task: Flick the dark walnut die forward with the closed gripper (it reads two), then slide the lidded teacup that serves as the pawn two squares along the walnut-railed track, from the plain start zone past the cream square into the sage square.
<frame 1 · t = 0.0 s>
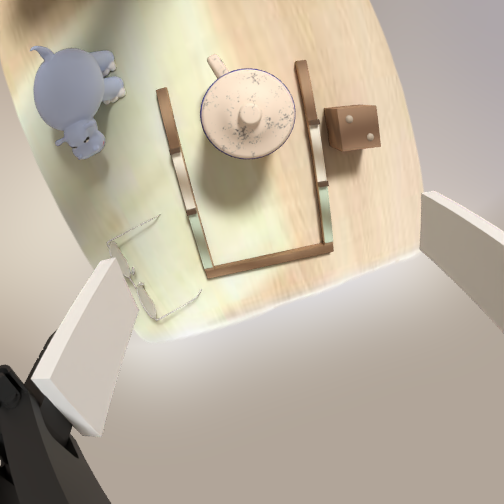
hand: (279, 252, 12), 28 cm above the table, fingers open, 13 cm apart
die: (344, 124, 37), on the table
sunglasses: (158, 261, 44), on the table
hippopotamus toy: (88, 99, 32), on the table
track: (251, 167, 38), on the table
teacup with lid: (237, 102, 35), on the table
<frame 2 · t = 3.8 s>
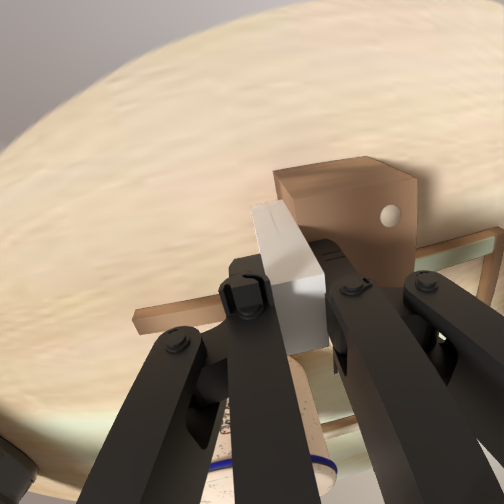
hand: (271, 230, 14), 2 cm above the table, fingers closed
die: (326, 208, 16), on the table, touching gripper
track: (341, 368, 22), on the table
teacup with lid: (232, 390, 22), on the table
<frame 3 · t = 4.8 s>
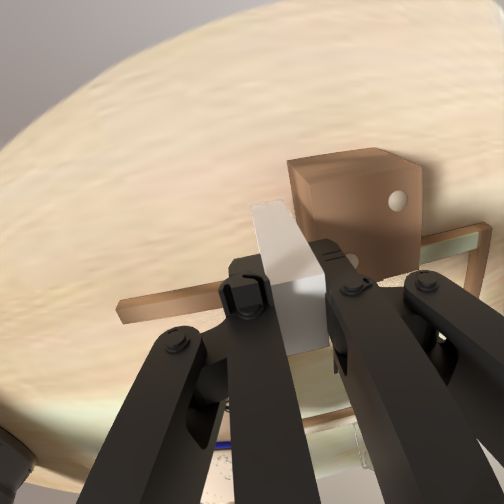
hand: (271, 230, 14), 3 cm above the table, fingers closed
die: (336, 196, 17), on the table
track: (322, 362, 23), on the table
teacup with lid: (215, 380, 23), on the table
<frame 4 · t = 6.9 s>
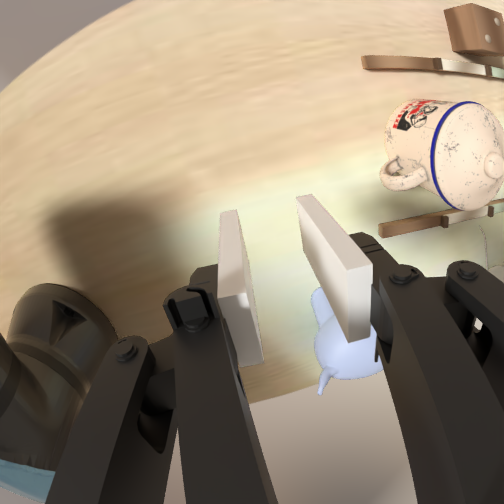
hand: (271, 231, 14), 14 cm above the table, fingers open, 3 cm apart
die: (463, 33, 21), on the table
hippopotamus toy: (357, 309, 36), on the table
track: (466, 141, 27), on the table
teacup with lid: (407, 145, 27), on the table
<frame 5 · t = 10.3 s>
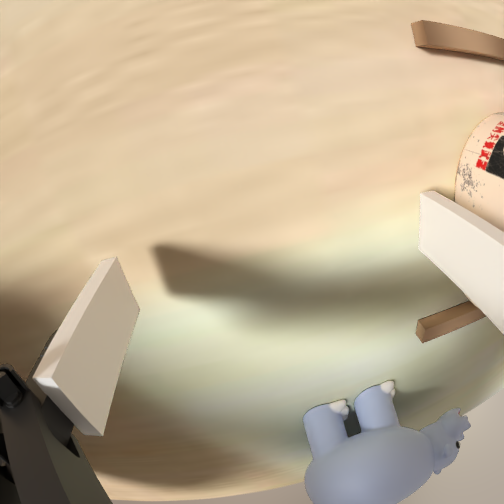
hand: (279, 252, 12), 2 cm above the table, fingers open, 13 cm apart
hippopotamus toy: (368, 417, 23), on the table
teacup with lid: (483, 191, 14), on the table, touching gripper, hand
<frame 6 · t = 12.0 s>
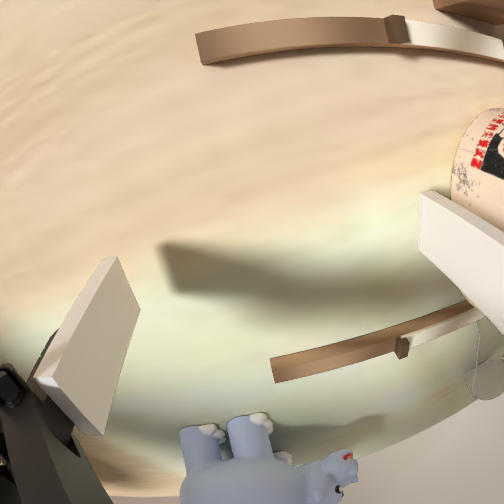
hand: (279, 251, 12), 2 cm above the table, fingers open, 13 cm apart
hippopotamus toy: (257, 442, 23), on the table
track: (463, 194, 14), on the table
teacup with lid: (479, 188, 14), on the table, touching gripper, hand
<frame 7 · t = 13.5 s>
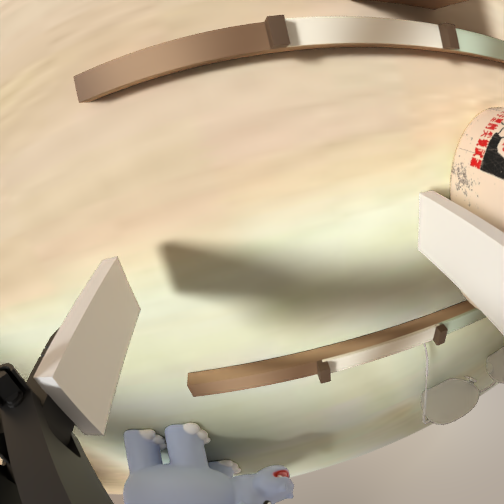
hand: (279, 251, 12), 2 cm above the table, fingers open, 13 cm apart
sunglasses: (474, 333, 21), on the table
hippopotamus toy: (200, 449, 23), on the table
track: (390, 209, 14), on the table
teacup with lid: (478, 187, 14), on the table, touching gripper, hand
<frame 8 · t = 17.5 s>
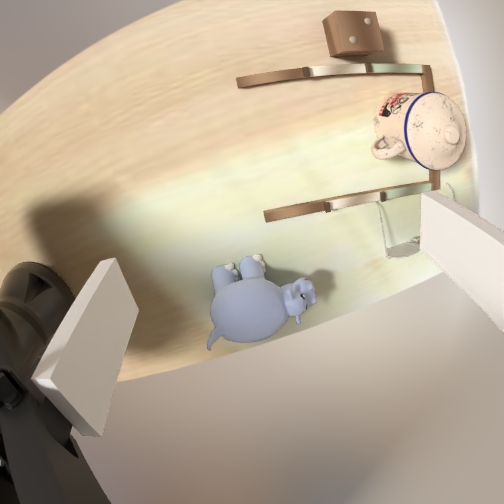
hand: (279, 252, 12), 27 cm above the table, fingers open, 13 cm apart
die: (344, 38, 30), on the table
sunglasses: (412, 213, 42), on the table, touching track
hippopotamus toy: (256, 287, 45), on the table
track: (348, 134, 36), on the table
teacup with lid: (391, 128, 36), on the table
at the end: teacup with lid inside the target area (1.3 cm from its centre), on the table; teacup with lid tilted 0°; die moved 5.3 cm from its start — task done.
